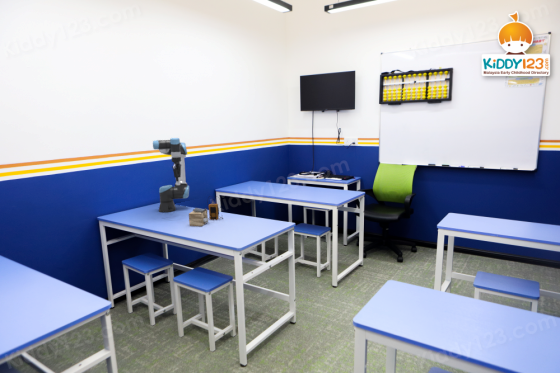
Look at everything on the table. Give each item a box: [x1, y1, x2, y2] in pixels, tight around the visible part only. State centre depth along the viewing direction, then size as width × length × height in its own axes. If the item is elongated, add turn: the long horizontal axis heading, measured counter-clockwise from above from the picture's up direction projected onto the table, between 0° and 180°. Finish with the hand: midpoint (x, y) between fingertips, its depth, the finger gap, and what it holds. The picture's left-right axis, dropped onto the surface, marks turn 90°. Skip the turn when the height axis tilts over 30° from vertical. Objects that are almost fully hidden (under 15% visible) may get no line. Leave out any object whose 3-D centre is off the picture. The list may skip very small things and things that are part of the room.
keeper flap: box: [192, 207, 206, 212], centre depth 281 cm, size 6×8×1 cm
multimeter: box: [206, 196, 224, 221], centre depth 297 cm, size 15×10×20 cm
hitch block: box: [188, 208, 209, 227], centre depth 282 cm, size 14×10×12 cm
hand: (178, 184), depth 295 cm, fingers closed
